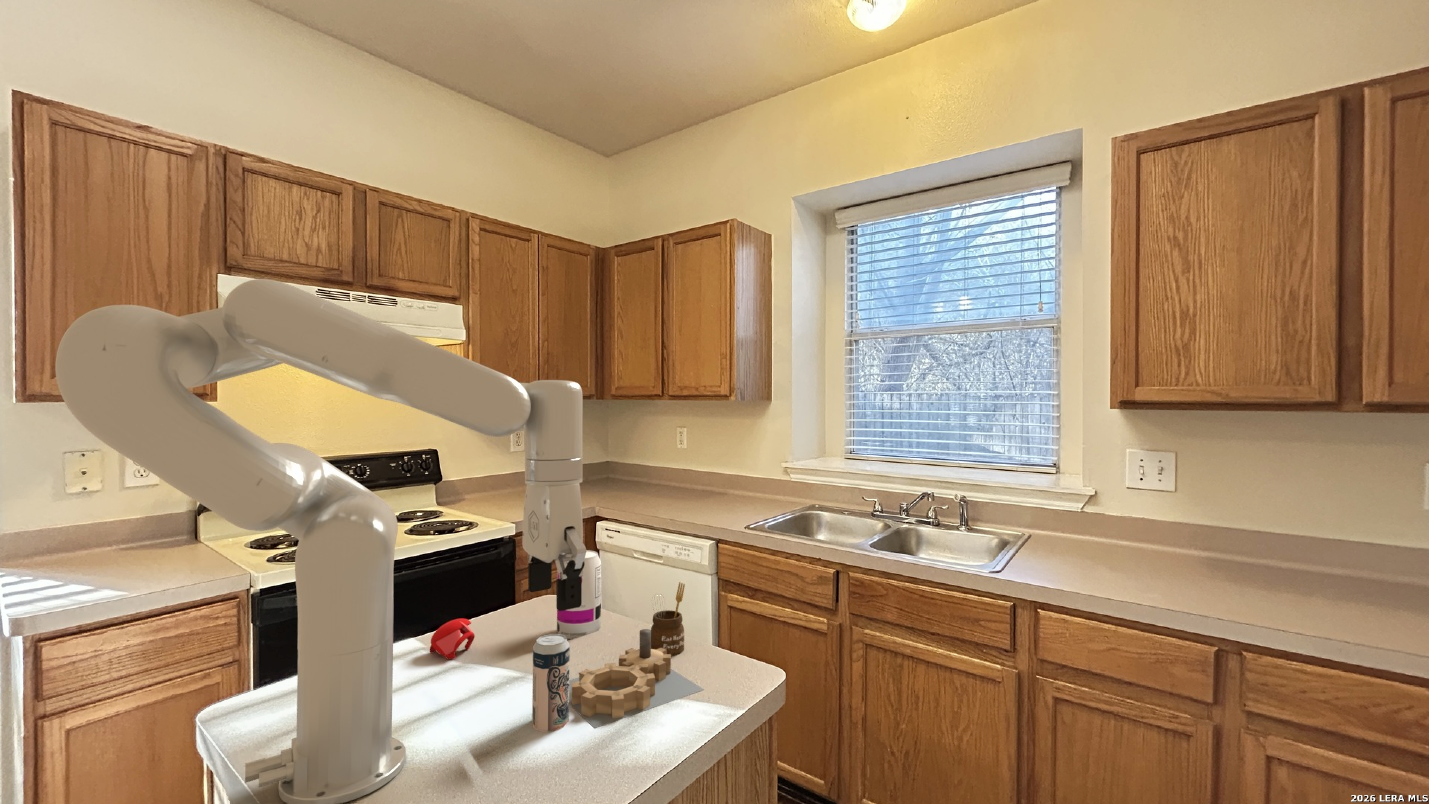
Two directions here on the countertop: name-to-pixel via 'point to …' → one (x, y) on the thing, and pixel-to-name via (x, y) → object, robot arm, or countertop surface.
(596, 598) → the supplement can
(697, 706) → the countertop surface
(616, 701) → the oak gear
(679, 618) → the utensil holder
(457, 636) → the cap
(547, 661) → the beer can
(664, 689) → the gear board
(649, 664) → the small gear
